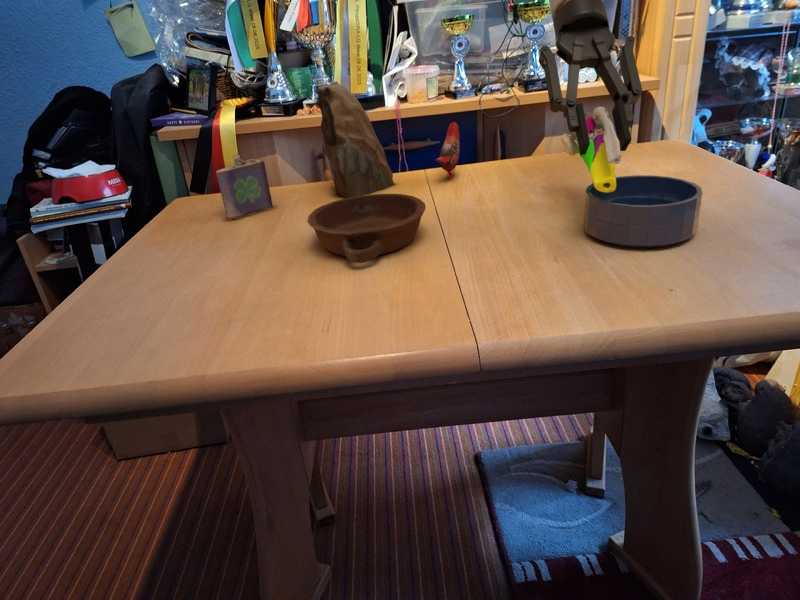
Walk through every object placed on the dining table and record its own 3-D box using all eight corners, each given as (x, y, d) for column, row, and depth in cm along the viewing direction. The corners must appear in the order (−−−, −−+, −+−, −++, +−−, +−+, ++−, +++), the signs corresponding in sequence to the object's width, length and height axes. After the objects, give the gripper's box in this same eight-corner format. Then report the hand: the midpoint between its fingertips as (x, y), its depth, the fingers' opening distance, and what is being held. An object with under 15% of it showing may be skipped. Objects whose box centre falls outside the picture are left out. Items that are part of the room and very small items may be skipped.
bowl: (651, 209, 85) (655, 170, 82) (720, 239, 72) (728, 194, 70) (565, 225, 82) (566, 185, 80) (621, 259, 70) (625, 213, 67)
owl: (347, 201, 105) (330, 88, 96) (309, 192, 113) (290, 88, 104) (397, 184, 112) (385, 77, 103) (357, 177, 120) (344, 78, 111)
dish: (424, 212, 94) (421, 183, 92) (432, 264, 74) (430, 228, 72) (321, 223, 95) (316, 194, 93) (303, 276, 75) (296, 242, 73)
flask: (230, 221, 101) (215, 162, 96) (224, 218, 103) (209, 160, 98) (275, 207, 106) (264, 150, 101) (268, 205, 108) (256, 149, 103)
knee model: (589, 227, 74) (570, 157, 94) (652, 202, 71) (618, 135, 91) (562, 169, 70) (548, 109, 90) (628, 139, 67) (598, 83, 87)
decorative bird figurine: (465, 168, 118) (462, 119, 113) (445, 193, 103) (442, 138, 99) (451, 168, 119) (449, 120, 114) (430, 193, 104) (426, 138, 99)
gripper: (631, 25, 87) (662, 156, 79) (515, 39, 88) (535, 168, 81) (647, -15, 80) (683, 124, 72) (521, 0, 81) (543, 138, 74)
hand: (605, 147), depth 76 cm, fingers closed on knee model, 5 cm apart
